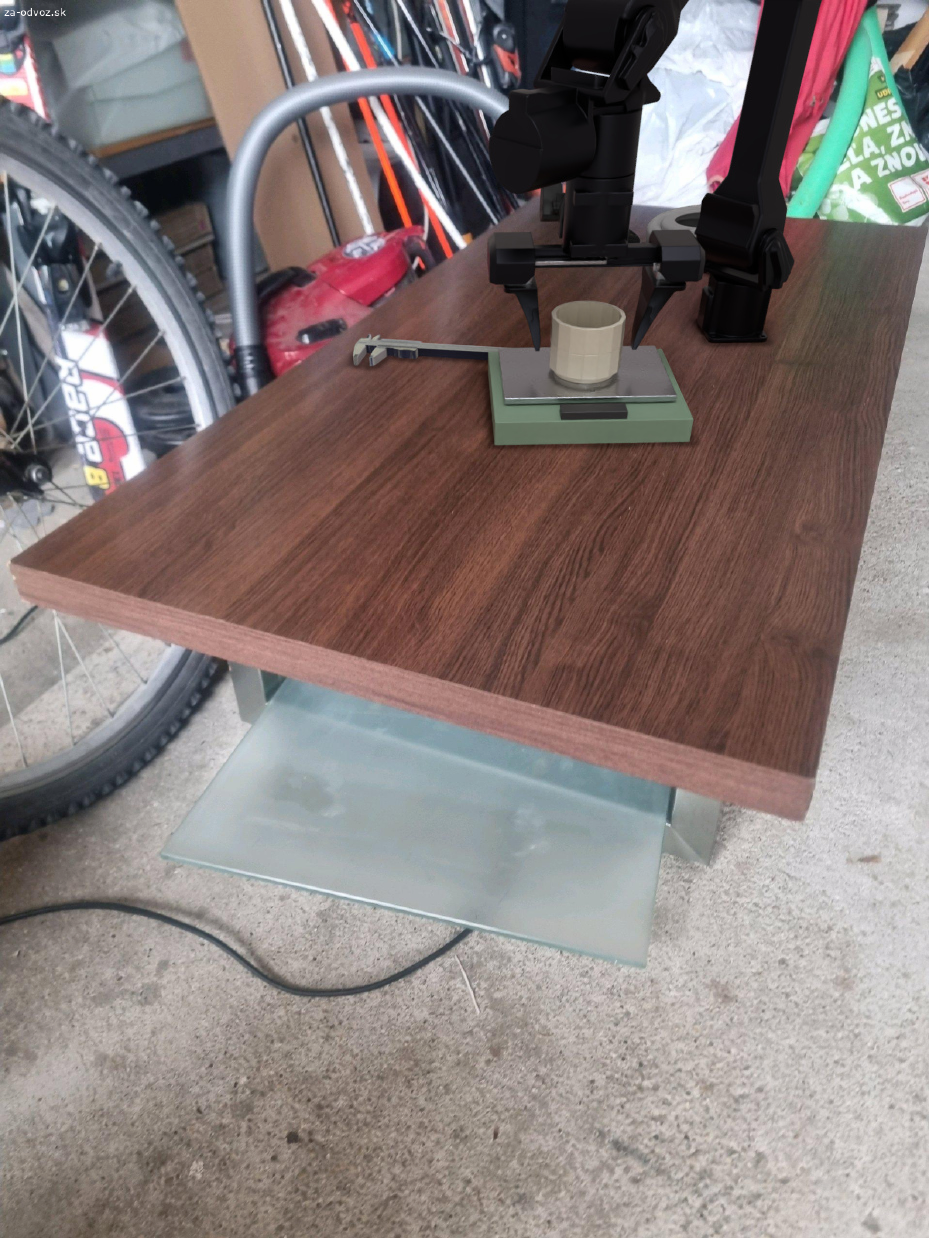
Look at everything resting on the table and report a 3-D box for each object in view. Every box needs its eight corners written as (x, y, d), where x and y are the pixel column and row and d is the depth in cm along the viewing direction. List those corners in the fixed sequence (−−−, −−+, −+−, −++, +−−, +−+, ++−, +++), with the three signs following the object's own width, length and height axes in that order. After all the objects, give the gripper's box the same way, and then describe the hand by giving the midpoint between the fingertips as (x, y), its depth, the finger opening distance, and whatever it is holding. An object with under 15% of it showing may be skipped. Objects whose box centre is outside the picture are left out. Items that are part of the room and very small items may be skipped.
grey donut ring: (669, 241, 125) (628, 272, 115) (673, 192, 121) (630, 220, 111) (788, 252, 117) (754, 287, 108) (796, 200, 113) (762, 231, 104)
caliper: (352, 357, 91) (356, 333, 96) (353, 367, 92) (357, 342, 97) (544, 354, 92) (539, 330, 96) (544, 364, 92) (538, 339, 97)
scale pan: (654, 351, 88) (655, 345, 88) (676, 401, 80) (677, 395, 80) (498, 353, 88) (498, 348, 88) (504, 404, 80) (504, 398, 80)
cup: (613, 354, 86) (619, 300, 83) (624, 385, 81) (630, 329, 78) (545, 355, 86) (548, 301, 83) (551, 386, 81) (555, 330, 78)
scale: (658, 370, 91) (663, 341, 89) (689, 442, 80) (695, 411, 77) (487, 373, 91) (488, 344, 89) (494, 446, 79) (495, 414, 77)
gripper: (691, 144, 78) (666, 314, 88) (485, 147, 78) (484, 317, 88) (721, 178, 70) (689, 361, 80) (490, 182, 70) (488, 364, 80)
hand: (585, 349), depth 82 cm, fingers open, 9 cm apart
